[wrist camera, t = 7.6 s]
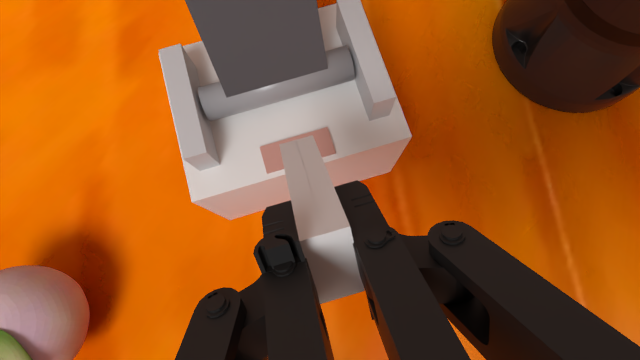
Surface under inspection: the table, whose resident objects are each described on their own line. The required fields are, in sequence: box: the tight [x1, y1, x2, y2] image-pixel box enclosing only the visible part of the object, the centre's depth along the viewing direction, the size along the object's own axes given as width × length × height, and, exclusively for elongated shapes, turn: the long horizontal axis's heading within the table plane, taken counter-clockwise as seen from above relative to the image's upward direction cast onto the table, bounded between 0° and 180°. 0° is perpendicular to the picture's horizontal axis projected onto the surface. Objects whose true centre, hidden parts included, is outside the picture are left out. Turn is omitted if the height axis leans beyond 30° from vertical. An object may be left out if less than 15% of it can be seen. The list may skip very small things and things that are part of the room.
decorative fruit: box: [0, 266, 90, 360], centre depth 29 cm, size 9×8×10 cm
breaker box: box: [159, 0, 412, 220], centre depth 31 cm, size 12×16×13 cm
